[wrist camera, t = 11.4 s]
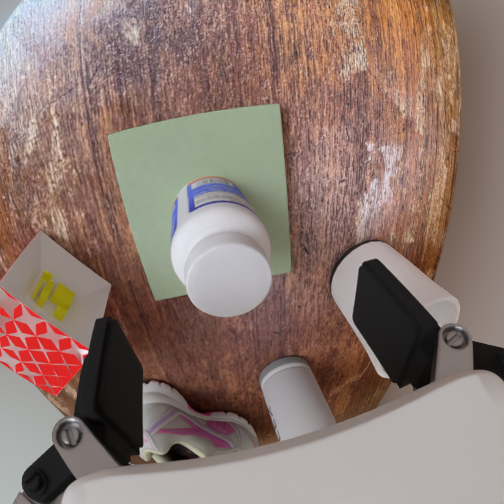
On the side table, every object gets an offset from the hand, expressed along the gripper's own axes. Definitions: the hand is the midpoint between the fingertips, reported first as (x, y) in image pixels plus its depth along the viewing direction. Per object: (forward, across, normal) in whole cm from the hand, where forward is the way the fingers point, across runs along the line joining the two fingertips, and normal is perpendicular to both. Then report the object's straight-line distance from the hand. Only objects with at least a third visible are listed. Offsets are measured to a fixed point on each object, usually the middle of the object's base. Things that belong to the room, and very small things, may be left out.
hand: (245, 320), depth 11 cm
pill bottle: (+13, 0, +1) cm, 13 cm away
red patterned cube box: (+13, +15, +5) cm, 21 cm away
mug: (+13, -14, +12) cm, 23 cm away
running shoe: (+13, +8, +29) cm, 33 cm away
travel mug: (+13, -5, +23) cm, 27 cm away
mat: (+13, 0, +1) cm, 13 cm away
